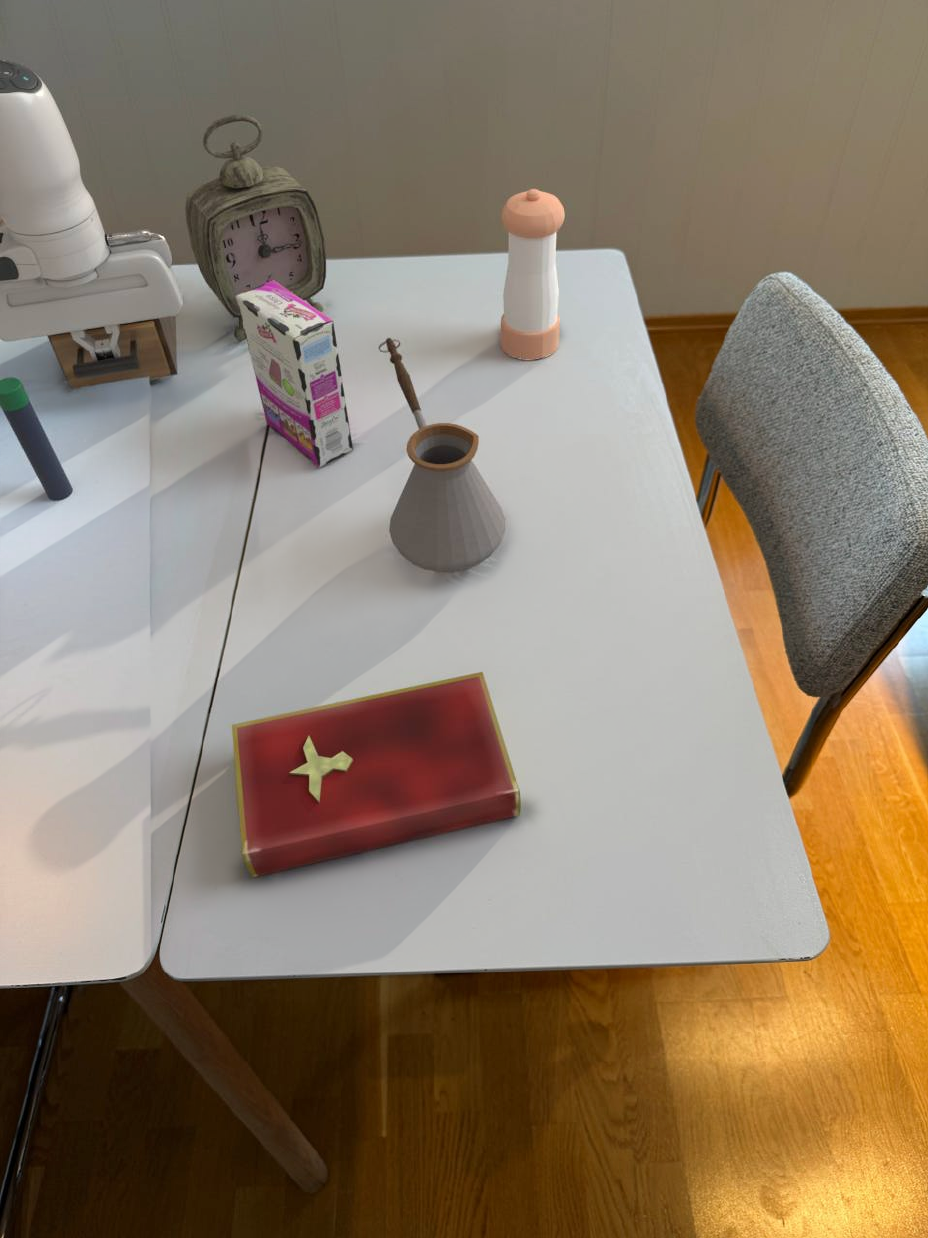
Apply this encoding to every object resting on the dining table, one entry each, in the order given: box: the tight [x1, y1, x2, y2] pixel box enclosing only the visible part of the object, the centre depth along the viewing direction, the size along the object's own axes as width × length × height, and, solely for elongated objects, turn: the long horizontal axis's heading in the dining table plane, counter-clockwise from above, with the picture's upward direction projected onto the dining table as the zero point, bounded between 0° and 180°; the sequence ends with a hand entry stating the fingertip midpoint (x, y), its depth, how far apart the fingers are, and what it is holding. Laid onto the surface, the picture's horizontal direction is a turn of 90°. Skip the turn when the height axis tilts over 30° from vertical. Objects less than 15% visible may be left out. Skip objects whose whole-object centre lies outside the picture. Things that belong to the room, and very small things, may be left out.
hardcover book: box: [231, 671, 522, 878], centre depth 72 cm, size 12×21×4 cm, turn 103°
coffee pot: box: [377, 337, 506, 574], centre depth 88 cm, size 21×12×15 cm, turn 21°
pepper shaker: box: [500, 188, 566, 361], centre depth 105 cm, size 7×7×19 cm
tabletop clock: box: [185, 113, 327, 342], centre depth 109 cm, size 14×9×25 cm, turn 120°
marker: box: [0, 376, 74, 502], centre depth 91 cm, size 3×3×15 cm
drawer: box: [50, 319, 171, 389], centre depth 109 cm, size 19×12×7 cm, turn 13°
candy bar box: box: [236, 280, 354, 469], centre depth 96 cm, size 11×5×16 cm, turn 41°
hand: (107, 357), depth 103 cm, fingers closed
